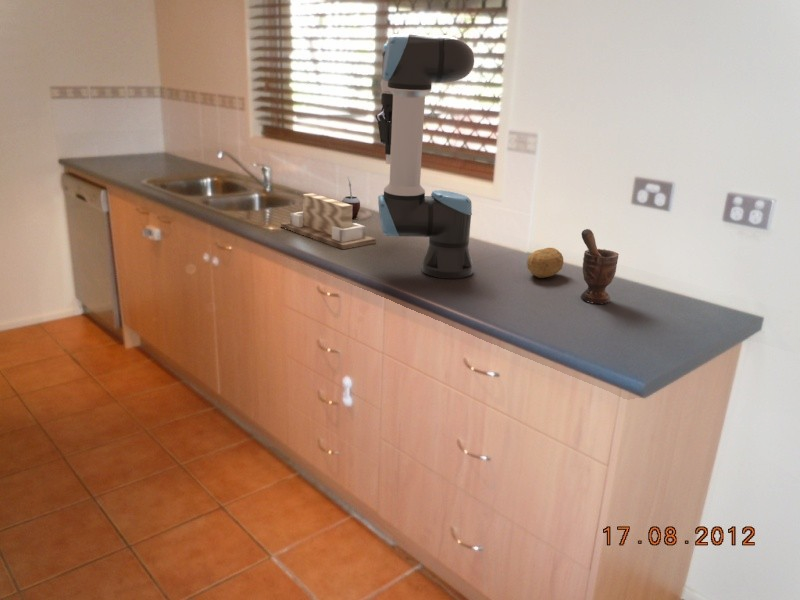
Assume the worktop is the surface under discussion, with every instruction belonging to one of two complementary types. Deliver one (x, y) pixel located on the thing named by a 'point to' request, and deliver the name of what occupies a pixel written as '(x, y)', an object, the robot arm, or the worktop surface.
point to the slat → (325, 213)
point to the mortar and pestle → (597, 269)
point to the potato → (545, 262)
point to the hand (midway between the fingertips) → (390, 163)
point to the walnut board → (328, 237)
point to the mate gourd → (352, 202)
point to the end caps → (334, 229)
